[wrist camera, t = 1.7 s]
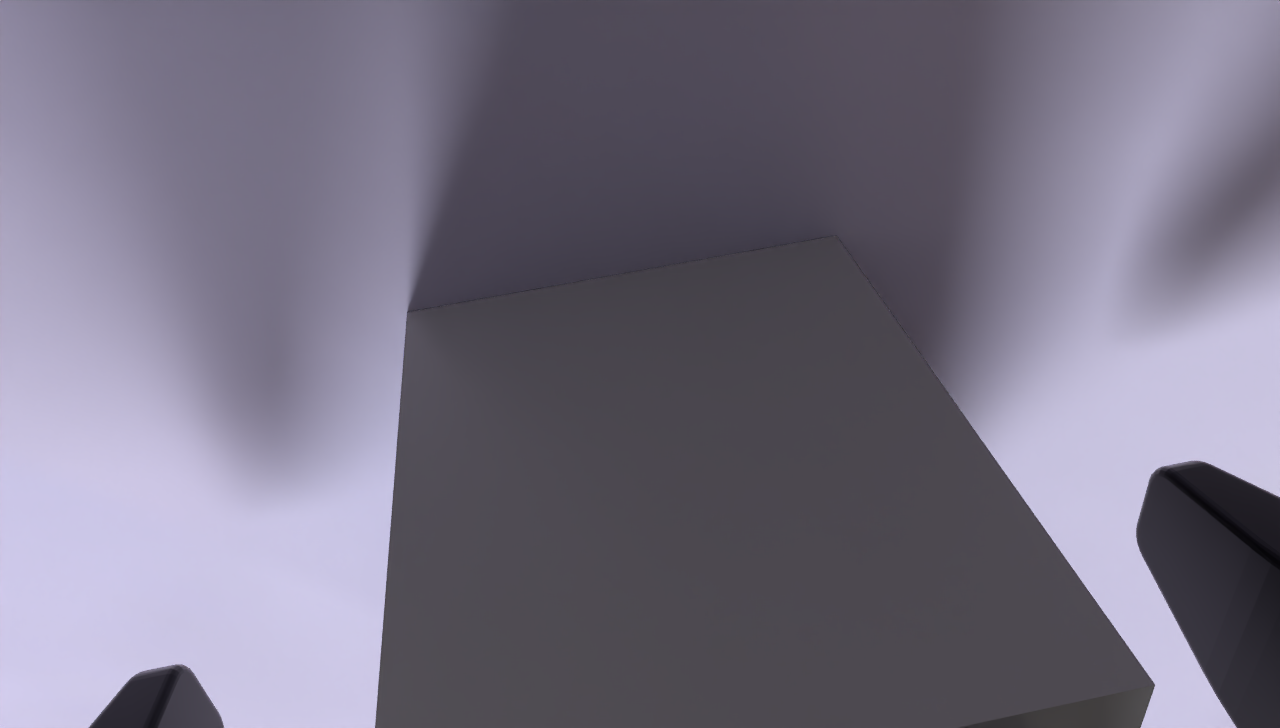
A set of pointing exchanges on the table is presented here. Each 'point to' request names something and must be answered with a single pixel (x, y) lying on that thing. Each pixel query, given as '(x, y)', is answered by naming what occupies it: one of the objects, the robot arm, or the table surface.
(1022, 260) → the table surface
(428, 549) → the plug
